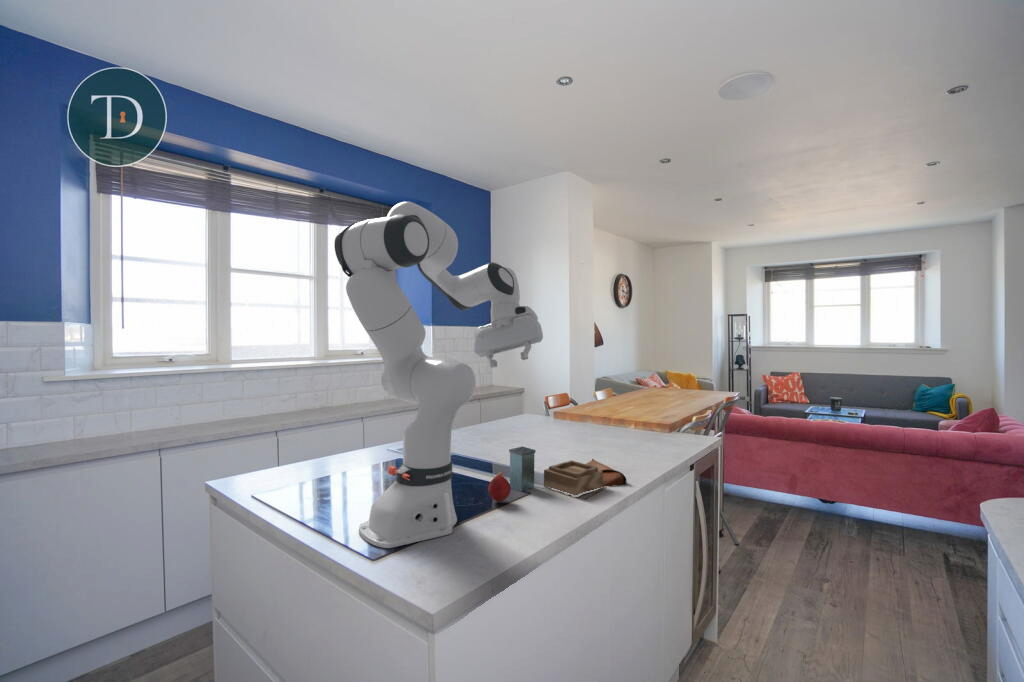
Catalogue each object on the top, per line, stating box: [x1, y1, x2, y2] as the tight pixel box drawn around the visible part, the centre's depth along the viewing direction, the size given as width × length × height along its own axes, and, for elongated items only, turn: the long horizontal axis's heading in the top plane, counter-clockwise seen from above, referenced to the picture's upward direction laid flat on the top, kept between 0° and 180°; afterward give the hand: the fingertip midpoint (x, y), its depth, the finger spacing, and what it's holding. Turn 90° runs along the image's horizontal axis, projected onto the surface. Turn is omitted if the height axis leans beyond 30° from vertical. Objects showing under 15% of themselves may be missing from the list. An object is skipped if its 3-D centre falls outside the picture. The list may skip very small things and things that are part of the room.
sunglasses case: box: [585, 458, 627, 487], centre depth 147 cm, size 18×7×7 cm
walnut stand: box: [543, 460, 604, 495], centre depth 137 cm, size 12×12×6 cm
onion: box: [487, 472, 512, 503], centre depth 125 cm, size 6×6×8 cm
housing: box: [508, 445, 536, 492], centre depth 137 cm, size 5×5×11 cm
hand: (508, 363), depth 130 cm, fingers open, 8 cm apart
